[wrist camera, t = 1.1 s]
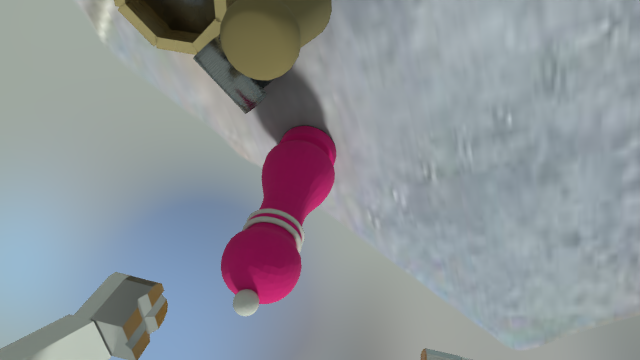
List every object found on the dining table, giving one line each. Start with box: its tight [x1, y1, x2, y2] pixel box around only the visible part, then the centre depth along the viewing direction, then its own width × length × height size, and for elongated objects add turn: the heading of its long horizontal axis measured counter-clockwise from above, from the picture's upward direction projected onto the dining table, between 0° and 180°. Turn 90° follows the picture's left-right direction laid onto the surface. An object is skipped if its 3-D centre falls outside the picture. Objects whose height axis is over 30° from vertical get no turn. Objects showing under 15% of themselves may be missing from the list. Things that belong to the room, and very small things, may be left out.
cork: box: [220, 0, 332, 80], centre depth 26 cm, size 6×6×11 cm
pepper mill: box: [221, 126, 336, 316], centre depth 32 cm, size 7×7×20 cm
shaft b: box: [193, 37, 273, 114], centre depth 32 cm, size 6×4×6 cm, turn 40°
